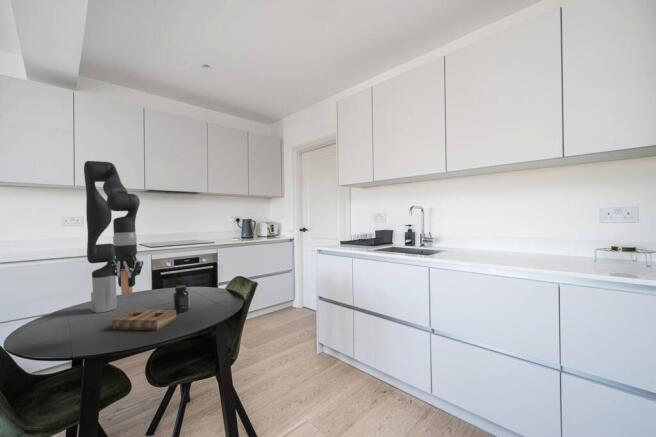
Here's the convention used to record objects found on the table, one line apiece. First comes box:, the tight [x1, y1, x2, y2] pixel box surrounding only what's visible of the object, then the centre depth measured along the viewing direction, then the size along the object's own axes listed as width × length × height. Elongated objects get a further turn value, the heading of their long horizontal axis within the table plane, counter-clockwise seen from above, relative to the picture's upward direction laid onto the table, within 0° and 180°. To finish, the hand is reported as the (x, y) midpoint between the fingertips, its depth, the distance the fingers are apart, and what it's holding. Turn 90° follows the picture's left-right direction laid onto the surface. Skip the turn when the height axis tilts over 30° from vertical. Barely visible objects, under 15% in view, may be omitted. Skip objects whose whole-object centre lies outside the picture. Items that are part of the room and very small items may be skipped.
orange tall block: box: [120, 270, 134, 295], centre depth 111 cm, size 4×4×9 cm
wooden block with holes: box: [112, 308, 177, 331], centre depth 121 cm, size 20×12×4 cm, turn 84°
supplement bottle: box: [172, 284, 190, 314], centre depth 136 cm, size 7×7×12 cm
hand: (126, 286), depth 111 cm, fingers closed on orange tall block, 3 cm apart
